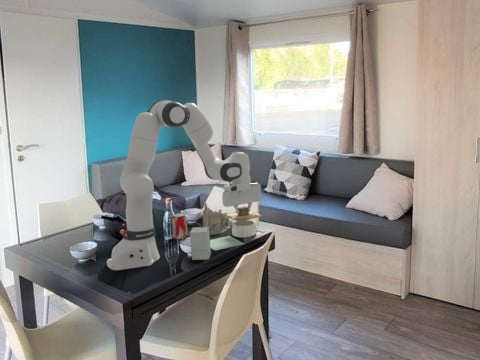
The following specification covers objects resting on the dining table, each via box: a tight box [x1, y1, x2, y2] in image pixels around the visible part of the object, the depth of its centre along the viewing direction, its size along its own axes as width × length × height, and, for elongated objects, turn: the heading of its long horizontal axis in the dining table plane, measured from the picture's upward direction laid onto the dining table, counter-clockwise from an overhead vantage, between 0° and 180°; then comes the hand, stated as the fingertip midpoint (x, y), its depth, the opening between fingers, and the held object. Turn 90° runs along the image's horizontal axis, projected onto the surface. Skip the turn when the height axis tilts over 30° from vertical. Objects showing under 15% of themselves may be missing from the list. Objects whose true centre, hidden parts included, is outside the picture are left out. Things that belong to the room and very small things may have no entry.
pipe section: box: [231, 219, 257, 238], centre depth 231 cm, size 12×12×6 cm
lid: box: [226, 206, 263, 222], centre depth 230 cm, size 13×13×4 cm
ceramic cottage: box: [201, 202, 232, 236], centre depth 241 cm, size 16×16×15 cm
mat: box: [210, 235, 245, 251], centre depth 220 cm, size 15×15×1 cm
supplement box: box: [189, 226, 212, 261], centre depth 202 cm, size 7×7×13 cm
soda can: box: [171, 212, 188, 240], centre depth 230 cm, size 7×7×12 cm
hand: (243, 212), depth 230 cm, fingers closed on lid, 4 cm apart
